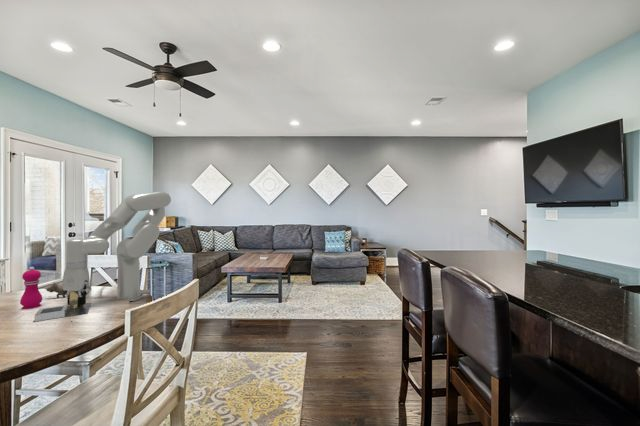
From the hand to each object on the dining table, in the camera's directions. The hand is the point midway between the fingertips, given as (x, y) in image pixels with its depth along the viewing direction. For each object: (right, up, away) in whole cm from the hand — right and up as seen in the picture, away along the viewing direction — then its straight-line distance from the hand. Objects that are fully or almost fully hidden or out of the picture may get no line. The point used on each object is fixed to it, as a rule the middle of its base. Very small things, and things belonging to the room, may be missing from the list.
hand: (76, 304), depth 130 cm
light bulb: (0, -1, 0) cm, 1 cm away
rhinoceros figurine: (-21, -3, +18) cm, 28 cm away
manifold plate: (0, -3, -6) cm, 7 cm away
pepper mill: (-20, -3, -1) cm, 20 cm away
